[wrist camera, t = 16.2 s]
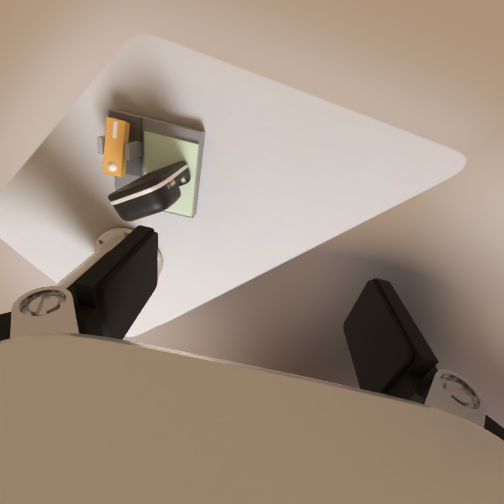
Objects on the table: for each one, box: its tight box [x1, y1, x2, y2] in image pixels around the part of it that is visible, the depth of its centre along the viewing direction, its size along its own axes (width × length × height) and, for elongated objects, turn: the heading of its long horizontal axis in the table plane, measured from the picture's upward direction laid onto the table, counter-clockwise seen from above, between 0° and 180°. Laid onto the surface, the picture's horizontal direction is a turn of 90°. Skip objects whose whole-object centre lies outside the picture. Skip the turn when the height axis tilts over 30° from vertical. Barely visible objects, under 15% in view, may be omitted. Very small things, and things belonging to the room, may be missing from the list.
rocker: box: [103, 117, 130, 177], centre depth 34 cm, size 7×2×1 cm, turn 167°
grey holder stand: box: [97, 110, 205, 218], centre depth 37 cm, size 13×12×6 cm
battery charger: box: [108, 161, 191, 221], centre depth 33 cm, size 7×4×11 cm, turn 109°
